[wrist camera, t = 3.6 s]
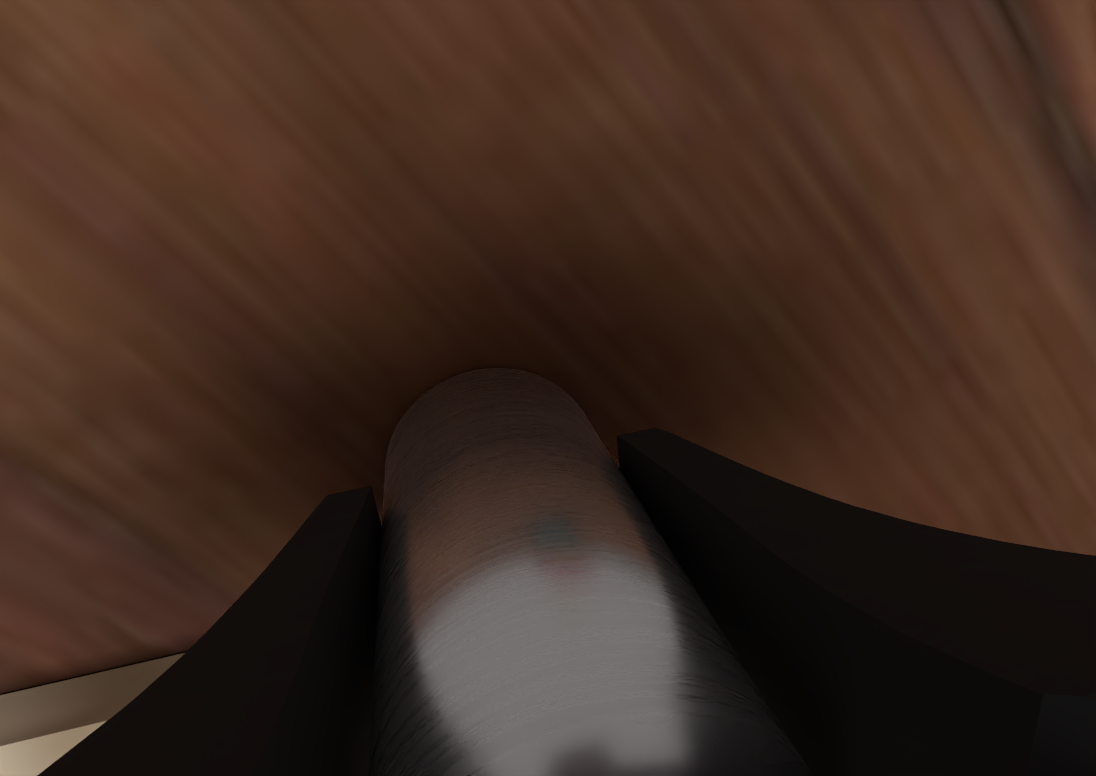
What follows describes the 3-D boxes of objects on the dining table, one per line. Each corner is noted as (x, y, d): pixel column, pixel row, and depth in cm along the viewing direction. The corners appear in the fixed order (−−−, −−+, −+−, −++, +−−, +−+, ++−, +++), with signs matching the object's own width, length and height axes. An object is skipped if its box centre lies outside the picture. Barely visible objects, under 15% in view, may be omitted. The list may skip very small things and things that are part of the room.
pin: (584, 349, 11) (837, 661, 5) (603, 532, 12) (819, 966, 6) (363, 390, 10) (299, 801, 4) (408, 575, 12) (414, 1099, 5)
